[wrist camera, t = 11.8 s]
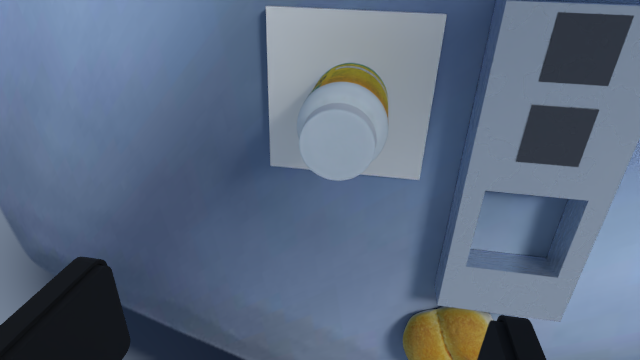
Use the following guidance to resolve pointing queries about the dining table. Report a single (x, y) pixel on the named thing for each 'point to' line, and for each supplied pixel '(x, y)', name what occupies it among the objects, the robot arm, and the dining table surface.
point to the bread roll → (445, 334)
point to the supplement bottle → (344, 122)
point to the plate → (360, 47)
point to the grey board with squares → (544, 147)
